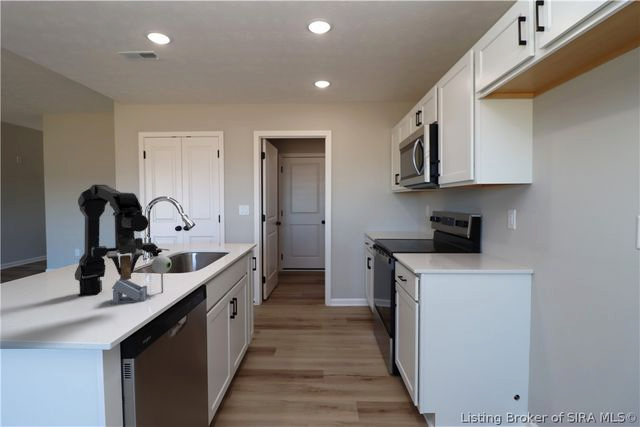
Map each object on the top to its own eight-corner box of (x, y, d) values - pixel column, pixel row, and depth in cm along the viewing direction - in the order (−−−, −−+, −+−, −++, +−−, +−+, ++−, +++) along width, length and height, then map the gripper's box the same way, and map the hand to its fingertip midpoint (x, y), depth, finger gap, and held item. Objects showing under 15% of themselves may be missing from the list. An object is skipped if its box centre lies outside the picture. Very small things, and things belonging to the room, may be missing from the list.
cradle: (110, 304, 116) (109, 281, 115) (115, 298, 123) (114, 276, 122) (145, 301, 119) (144, 278, 119) (148, 295, 126) (147, 274, 126)
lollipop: (164, 295, 126) (163, 257, 125) (148, 294, 127) (147, 257, 127) (175, 290, 133) (174, 254, 132) (160, 289, 134) (159, 253, 133)
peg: (120, 280, 109) (120, 257, 109) (119, 278, 112) (119, 255, 111) (131, 279, 111) (131, 256, 111) (130, 277, 114) (129, 254, 113)
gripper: (92, 233, 98) (94, 283, 99) (159, 230, 110) (160, 275, 111) (90, 230, 107) (92, 276, 108) (152, 227, 119) (153, 268, 120)
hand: (125, 274), depth 111 cm, fingers closed on peg, 3 cm apart
